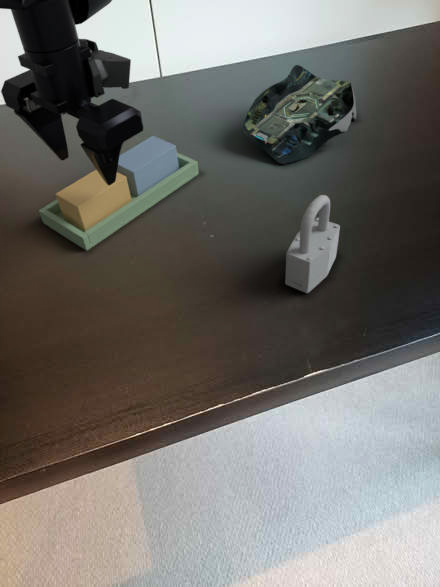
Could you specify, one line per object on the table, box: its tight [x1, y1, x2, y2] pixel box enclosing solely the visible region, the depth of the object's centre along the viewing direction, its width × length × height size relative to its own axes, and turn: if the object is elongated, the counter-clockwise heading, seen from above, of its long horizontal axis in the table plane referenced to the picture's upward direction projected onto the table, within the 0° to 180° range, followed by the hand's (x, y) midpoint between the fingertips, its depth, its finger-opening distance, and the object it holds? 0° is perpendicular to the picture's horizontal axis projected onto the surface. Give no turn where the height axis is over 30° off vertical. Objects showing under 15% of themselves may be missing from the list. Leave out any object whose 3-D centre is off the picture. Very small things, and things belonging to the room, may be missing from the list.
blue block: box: [117, 135, 179, 197], centre depth 74 cm, size 8×5×4 cm, turn 139°
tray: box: [38, 152, 199, 251], centre depth 72 cm, size 21×9×2 cm, turn 139°
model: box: [242, 64, 357, 165], centre depth 79 cm, size 20×9×14 cm
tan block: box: [55, 169, 132, 231], centre depth 69 cm, size 8×5×4 cm, turn 139°
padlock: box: [284, 194, 341, 294], centre depth 57 cm, size 7×4×10 cm, turn 145°
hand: (87, 170), depth 66 cm, fingers open, 9 cm apart
